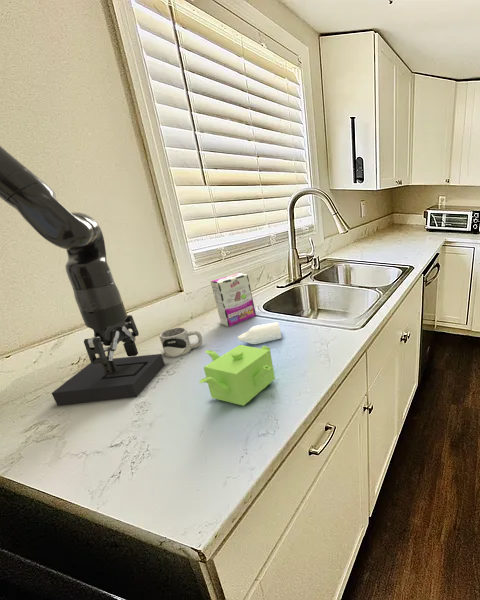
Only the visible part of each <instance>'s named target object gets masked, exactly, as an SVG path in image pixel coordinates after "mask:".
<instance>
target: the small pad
mask: <svg viewBox="0 0 480 600" xmlns="http://www.w3.org/2000/svg"><path fill="white" fill-rule="evenodd" d="M144 366H145V364H134V365H124V366H117V369H118V373H117V374H116V375H107V376H106V377H105V378H106V379H109V378H118V377H128V376H135V375H136V374H137V373H138V372H139V371H140V370H141V369H142V368H143V367H144Z"/></svg>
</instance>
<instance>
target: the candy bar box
mask: <svg viewBox="0 0 480 600" xmlns="http://www.w3.org/2000/svg"><path fill="white" fill-rule="evenodd" d="M210 284H211V289H212V292H213V297H214V301H215V304H216V308H217V313H218V317H219V320H220V324H221V325H222V326H225V327H228V328H231V327H233V326H234V325H237V324H239V323H242V322H244V321H247V320H250V319H251V318H254V317H257V314H256V307H255V303H254V299H253V294H252V289H251V285H250V279H249V274H248V273H245V272H244V273H243V272H238V273H234V274H231V275H227V276H223V277H220V278H216V279H213V280H210Z"/></svg>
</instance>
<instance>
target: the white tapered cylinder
mask: <svg viewBox="0 0 480 600" xmlns="http://www.w3.org/2000/svg"><path fill="white" fill-rule="evenodd" d="M236 339H238V340H239V342H245V343H248V344H251V345H259V344H263V343H268V342H272V341H277V340H281V339H282V331H281V328H280V324H279V322H278V321H275V322H269V323H263V324H258V325H253V326H251V327H250V328H249V329H248V330H246V331H245V332H244V333H241V334H240V335H238V336H237V338H236Z"/></svg>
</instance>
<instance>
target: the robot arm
mask: <svg viewBox="0 0 480 600" xmlns="http://www.w3.org/2000/svg"><path fill="white" fill-rule="evenodd" d="M56 198H57V194H56V192H55V191H54V190H53V189H52V188H51V186H49V185H48V184H47V183H46V182H44V180H42V179H41V178H40V177H39V176H37V175H36V174H35V173H34V172H33V171H32V170H30V169H29V168H28V167H27V166H25V165H24V164H23V163H22V162H20V161H19V160H18V159H17V158H15V157H14V156H13V155H12V154H11V153H10V152H8V151H7V149H5V148H4V147H2V146H1V145H0V199H1V200H2V201H3V202H5V203H6V204H7V205H9V206H10V207H12V208H13V209H15V210H16V211H17V212H18V213H19V215H20V216H21V217H22V218H23V219H24V220H25V222H27V224H28V225H30V226H31V228H33V230H34V231H35V232H36V233H38V235H39V236H41V237H42V238H43V239H44V240H45V241H47V242H49V243H50V244H52V245H53V246H55V247H58V248H60V249H63V250H66V254H67V261H66V263H65V265H64V268H65V273H66V275H67V278H68V280H69V283H70V286H71V289H72V291H73V296H74V300H75V302H76V305H77V307H78V310H79V312H80V315H81V317H82V320H83V322H84V325H85V326H86V328H89V329H90V330H93V336H92V337H90V338H85V339H83V344H84V347H85V350H86V352H87V355H88V358H89V360H90V363H92V364H96V363H101V364H102V367H103V369H104V372H105V374H106V375H116V374H117V373H118V369H117V366H116V364H115V361H114V359H113V358H114V352H116V350H117V347H118V345H119V343H120V342H122V343H123V344H122V345H123V347H124V351H125V353H126V357H134V356H138V355H139V352H138V348H137V345H136V340H137V339H136V337H138V336H139V334H140V333H139V330H138V328H137V325H136V323H135V319H134V318H133V317H134V316H133V315H132V314H130V315H129V314H128V313H127V309H126V307H125V304H124V301H123V298H122V296H121V291H120V290H119V288H118V286H117V284H116V282H115V279H114V277H113V274H112V271H111V268H110V266H109V264H108V260H107V259H108V258H107V250H106V249H107V248H106V243H105V237H104V234H103V230H102V227H101V226H100V225H99V223H98V221H96V220H95V218H93V217H92V216H90V215H89V214H86V213H84V212H83V213H82V212H78V211H77V212H75V211H73V212H70V211H69V210H68V209H67V208H66V207H65V206H63V204H62V203H61V202H60V201H58V200H57V199H56ZM130 330H131V331H130ZM106 352H107V353H106Z"/></svg>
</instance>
